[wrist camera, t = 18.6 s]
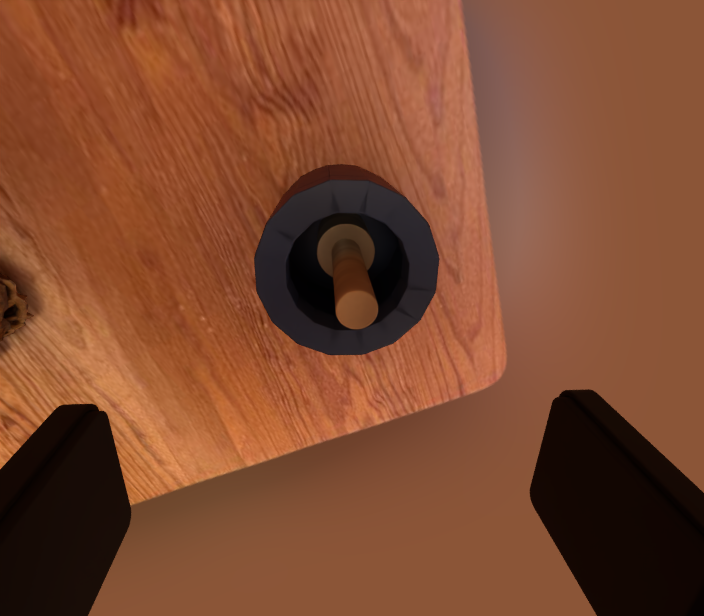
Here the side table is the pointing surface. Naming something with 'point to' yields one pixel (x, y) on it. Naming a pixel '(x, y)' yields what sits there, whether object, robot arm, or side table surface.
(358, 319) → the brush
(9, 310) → the decorative rock
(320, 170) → the dark hollow tube
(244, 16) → the side table surface
